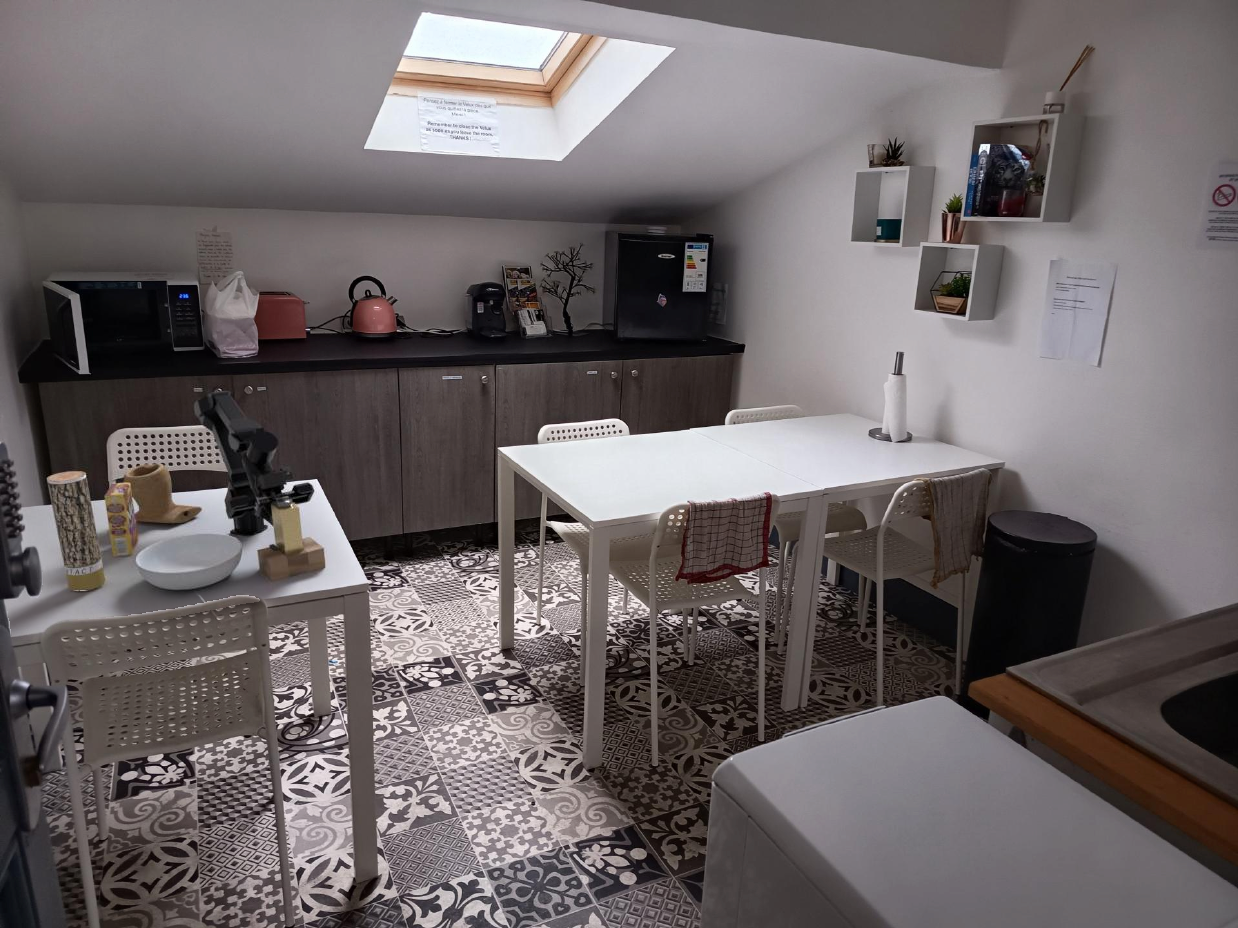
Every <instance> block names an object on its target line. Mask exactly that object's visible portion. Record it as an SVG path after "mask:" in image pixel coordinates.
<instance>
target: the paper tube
mask: <svg viewBox="0 0 1238 928" xmlns="http://www.w3.org/2000/svg"><path fill="white" fill-rule="evenodd" d="M86 474H87V473H86V472H85V471H81V470H80V471H78V470H71V471H64V472H58V473H55V474H52V475H50V476H48V477H47V478H46V481H47V487H48V492H49V496H50V502H51V503H50V504H51V506H52V507H51V508H52V511H53V517H54V522H55V526H56V531H57V532H56V533H57V537H58V541H59V545H60V552H61V556H62V560H63V561H62V562H63V566H64V571H65V574H66V575H65V576H66V581H67V587H68V588H69V590H70V591H72V590H79V591H80V590H90V591H92V590H91V589H93V590H96V589H98V588H100V587H102V586H103V585H104V584H105V582H106V577H105V571H104V567H103V560H102V554H101V548H100V544H99V537H98V532H97V527H96V522H95V517H94V512H93V507H92V506H93V505H92V501H91V500H92V499H91V495H90V489H89V484H88V483H89V482H88V479H87V475H86ZM101 585H102V586H101ZM97 587H98V588H97ZM95 588H96V589H95Z"/></svg>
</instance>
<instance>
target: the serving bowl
mask: <svg viewBox="0 0 1238 928" xmlns="http://www.w3.org/2000/svg"><path fill="white" fill-rule="evenodd" d="M242 555H243V544H242V542H241V541H240V540H239V539H238V538H237V537H234V536H231V535H229V534H224V533H216V532H215V533H214V532H213V533H212V532H211V533H210V532H205V533H204V532H202V533H190V534H184V535H178V536H174V537H171V538H165V539H163V540H161V541H157V542H155V543H152V544H150V545H148V546H147V547H145V548H143V549H142V550H140V552H139V553H138V554H137V555H136V557H135V565H136V568H137V570H138V571H139V574H140V575H141V577H142V578H143V579H144V580H145V581H146V582H148V583H149V584H151V585H153V586H156V587H157V588H161V589H165V590H172V591H181V590H182V591H184V590H192V589H193V590H194V589H199V588H203V587H204V588H205V587H207V586H211V585H213V584H216V583H217V582H220V581H223V580H224V579H225V578H227V577H228V576H229V575H231V574H232V573H233V572H234V571H235V570H236V569H237V567H238V566H239V564H240V562H241V560H242V559H241V558H242Z"/></svg>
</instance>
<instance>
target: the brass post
mask: <svg viewBox="0 0 1238 928" xmlns="http://www.w3.org/2000/svg"><path fill="white" fill-rule="evenodd" d="M271 509H272V518H273V526H274V527H273V526H272V527H273V533H274V534H273V535H274V540H275V541H274V543H275V544H274V545H276V546H277V547H278V548H279V551H280V552H281V553H283V554H284V555H286V554H290V553H294V552H298V551H302V550H303V541H302V539H303V533H302V523H301V513H300V507H299V506H298V504H297V505H296V504H294V503H292V500H291V499H281V500H278V501H277V502H276V503H272V504H271Z"/></svg>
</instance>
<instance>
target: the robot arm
mask: <svg viewBox="0 0 1238 928" xmlns="http://www.w3.org/2000/svg"><path fill="white" fill-rule="evenodd" d="M233 396H234V395H233V393H232V391H228V390H223V391H214V392H211V393H209V394H207V395H206V396H203V397H201V398H198V399H197V400H196V401H195V402H194V404H193V411H194V415H195V417H197V418H198V419H199V422H200V424H201V425H202V426H203V427H204V428H205V429H208V431H211V433H212V435H213V437H214V440H215V443H216V445H217V448H218V450H219V452H220V456H221V458H222V461H223V463H224V465H225V469H226V470H227V473H228V476H229V481H228V485H227V492H226V494H225V497H224V505H225V512H226V513H225V514H226V516H227V518H228V519H229V520H232V519H233V528H232V529H231V530H230V531H229V533H230V534H235V535H241V536H247V537H252V536H254V535H257V534H258V533H260V532H262V531H265V529H268V528H269V526H268V524H270V525H271V526H272V527H273V528H274V526H273V518H272V509H271V504H272V503H276V502H277V501H278V500H281V499H291V500H292V503H294V504H295V505H297V506H298V505H301V504H306V503H308V502H310V501H311V499H312V497H313V495H314V493H315V489H314V486H313V484H311V483H310V482H309V481H307V482H302V483H298V484H294V485H293V487H292V490H290V491H285V492H284V490H285V486H287V484H288V483H287V482H289V481H292V480H294V474H293V471H292V469H291V467H290V466H289V465H288V466H283V467H281V468H279V471H276V469H274V468H273V466H272V462H271V461H272V460H273V459H274V456H275V453H276V450H277V448H278V446H279V441H278V438H277V436H275V435H274V434H273V433H272V432H270V431H266V430H265V428H264V427H262V426H261V425H260V424H259V423H258V422H256V421H255V420H252V419H248V417H246V416H245V414H244V412H243V411H242V409H241V408H240V406H239V405H238V404H237V402H236V401H235V399H234V397H233ZM242 452H243V453H244V452H245V453H244V454H243V453H242ZM265 521H266V522H267V523H268V524H265Z"/></svg>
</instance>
